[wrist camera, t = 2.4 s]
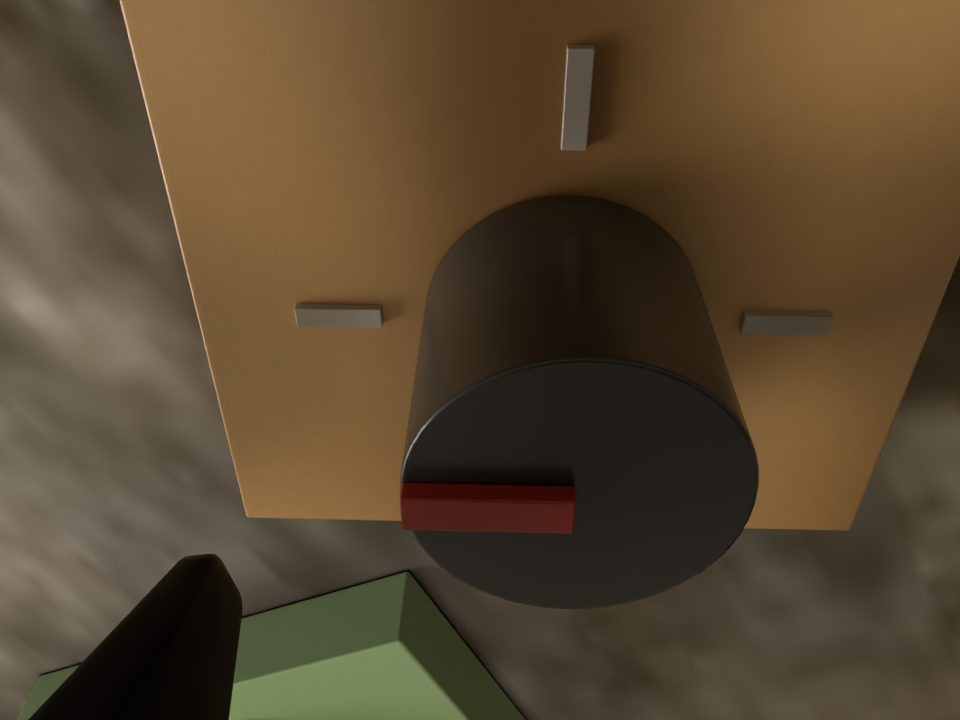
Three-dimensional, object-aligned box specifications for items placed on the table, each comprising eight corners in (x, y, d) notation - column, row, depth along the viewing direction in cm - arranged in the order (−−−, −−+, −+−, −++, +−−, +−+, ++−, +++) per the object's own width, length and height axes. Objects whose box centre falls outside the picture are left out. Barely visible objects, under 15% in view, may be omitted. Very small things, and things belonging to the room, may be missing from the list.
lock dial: (722, 195, 12) (806, 380, 9) (678, 423, 15) (729, 633, 11) (419, 191, 12) (384, 371, 9) (430, 418, 15) (406, 625, 11)
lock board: (963, -59, 13) (1074, -6, 10) (807, 429, 19) (853, 538, 16) (186, -63, 13) (108, -13, 10) (278, 419, 19) (243, 525, 17)
